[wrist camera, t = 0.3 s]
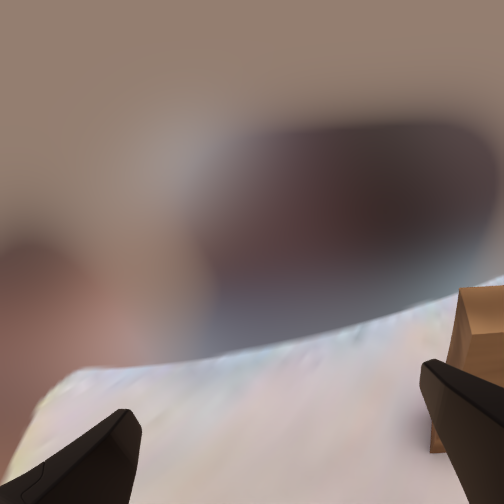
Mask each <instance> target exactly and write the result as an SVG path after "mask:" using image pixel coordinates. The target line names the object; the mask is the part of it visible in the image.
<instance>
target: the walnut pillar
mask: <svg viewBox="0 0 504 504" xmlns="http://www.w3.org/2000/svg"><path fill="white" fill-rule="evenodd" d="M446 364H449V365H451V366H453V367H456V368H458V369H460V370H463V371H465V372H467V373H470V374H472V375H474V376H477V377H479V378H482V379H484V380H486V381H489V382H491V383H494V384H496V385H498V386H501V387H503V388H504V285H502V286H486V287H467V288H459V295H458V302H457V309H456V315H455V321H454V327H453V332H452V337H451V342H450V347H449V351H448V356H447V360H446ZM445 452H446V450H445V448H444V446H443V444H442V442H441V440H440V438H439V436H438V434H437V432H436V430H435V428H434V425H433V422H432V428H431V444H430V453H445Z"/></svg>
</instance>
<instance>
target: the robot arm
mask: <svg viewBox="0 0 504 504" xmlns="http://www.w3.org/2000/svg"><path fill="white" fill-rule="evenodd" d="M419 385H420V390H421V393H422V395H423V398H424V401H425V403H426V406H427V409H428V411H429V414H430V417H431V420H432V422H433V425H434V428H435V430H436V432H437V434H438V436H439V438H440V440H441V442H442V444H443V446H444V448H445V450H446V453H447V455H448V457H449V459H450V461H451V463H452V465H453V467H454V470H455V472H456V474H457V476H458V478H459V481H460V483H461V485H462V487H463V490H464V492H465V494H466V497H467V499H468V501H469V504H504V388H503V387H501V386H498V385H496V384H494V383H491V382H489V381H486V380H484V379H482V378H479V377H477V376H474V375H472V374H470V373H467V372H465V371H463V370H460V369H458V368H456V367H453V366H451V365H449V364H446V363H444V362H442V361H439V360H437V359H431V360H428V361H426V362H424V363H423V364H422V366H421V374H420V383H419ZM141 436H142V428H141V425H140V424H139V422H138V420H137V419H136V417H135V415H134V414H133V412H132V411H131V410H129V409H118V410H117V411H115V412H114V413H112V414H111V415H110V416H108V417H107V418H106V419H104V420H103V421H101V422H100V423H99V424H97V425H96V426H94V427H93V428H92V429H90V430H89V431H87V432H86V433H85V434H83V435H82V436H80V437H79V438H77V439H76V440H75V441H73V442H72V443H70V444H69V445H67V446H66V447H64V448H63V449H62V450H60V451H59V452H57V453H56V454H54V455H53V456H51V457H50V458H48V459H47V460H45V462H42V463H41V464H39V465H38V466H36V467H35V468H33V469H31V470H30V471H28V472H26V473H25V474H23V475H21V476H19V477H17V478H15V479H13V480H12V481H10V482H8V483H6V484H4V485H2V486H0V504H129V500H130V496H131V492H132V487H133V483H134V479H135V475H136V471H137V465H138V458H139V450H140V443H141Z"/></svg>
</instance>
